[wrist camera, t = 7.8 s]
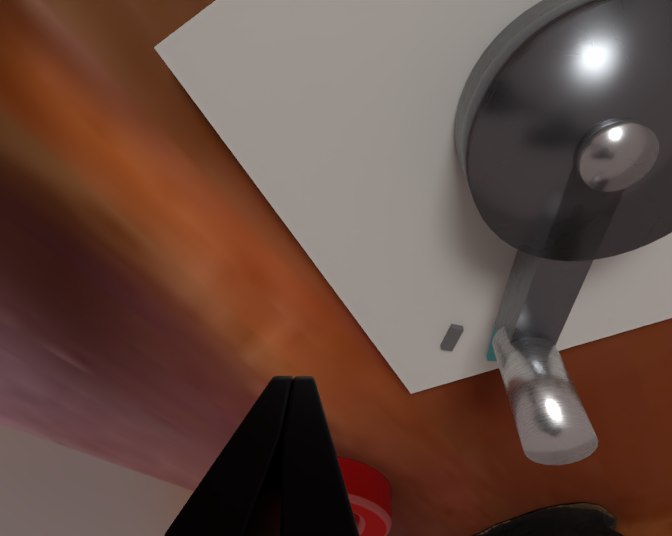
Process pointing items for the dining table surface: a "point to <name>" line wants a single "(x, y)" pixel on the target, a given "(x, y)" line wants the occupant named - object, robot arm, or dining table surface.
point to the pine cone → (559, 522)
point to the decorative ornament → (367, 497)
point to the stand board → (386, 169)
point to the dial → (566, 181)
